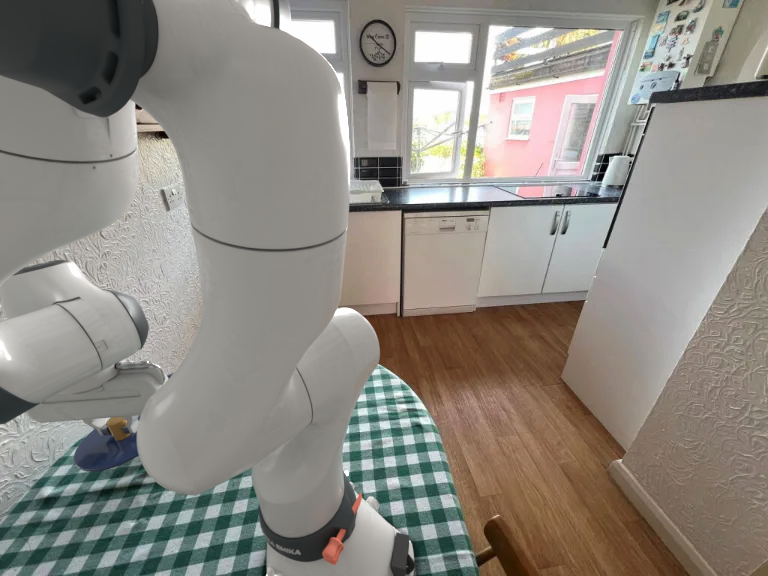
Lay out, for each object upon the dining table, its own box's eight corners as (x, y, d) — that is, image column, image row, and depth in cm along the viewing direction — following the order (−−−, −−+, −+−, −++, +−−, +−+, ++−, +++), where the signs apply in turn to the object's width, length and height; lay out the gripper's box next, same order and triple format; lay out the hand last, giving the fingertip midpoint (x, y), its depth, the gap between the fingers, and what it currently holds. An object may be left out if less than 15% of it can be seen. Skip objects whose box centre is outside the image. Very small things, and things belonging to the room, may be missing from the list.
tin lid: (184, 424, 56) (176, 405, 54) (102, 488, 46) (88, 467, 44) (143, 402, 61) (134, 384, 59) (61, 455, 51) (47, 435, 49)
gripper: (169, 348, 50) (193, 411, 56) (34, 357, 49) (74, 421, 55) (144, 374, 44) (174, 442, 50) (-8, 384, 43) (40, 453, 49)
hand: (121, 431), depth 52 cm, fingers closed on tin lid, 2 cm apart
